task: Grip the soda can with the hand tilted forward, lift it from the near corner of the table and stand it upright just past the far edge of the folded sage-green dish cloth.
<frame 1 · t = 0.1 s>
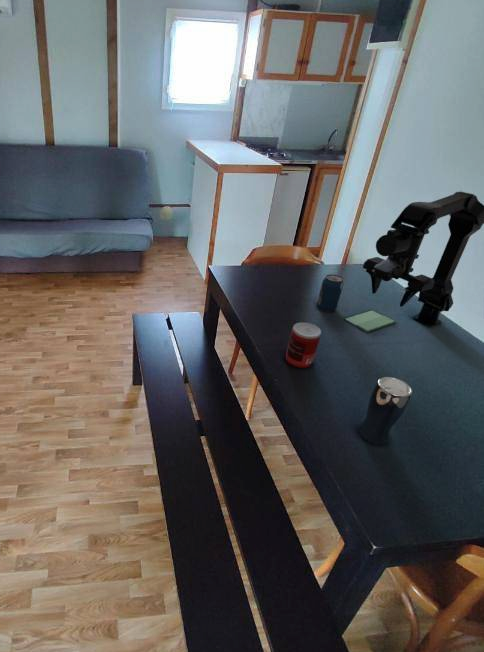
hand: (387, 299, 123), 15 cm above the table, tool pointing down, fingers open, 9 cm apart
cloth: (369, 321, 141), on the table
beer glass: (372, 435, 96), on the table
soda can: (325, 308, 149), on the table
canned food: (298, 361, 121), on the table
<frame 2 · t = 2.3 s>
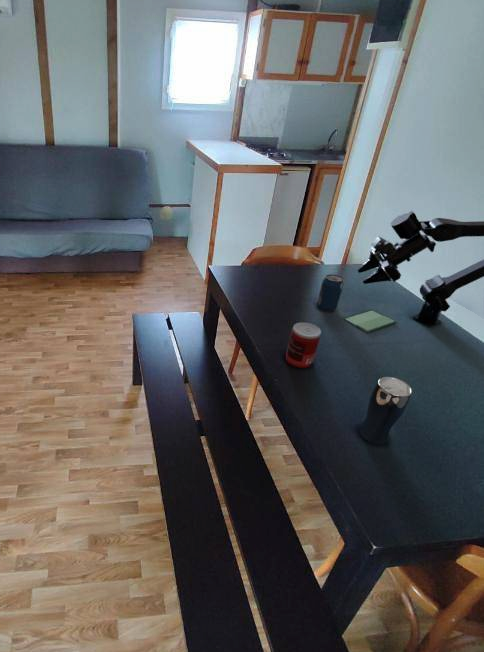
hand: (360, 277, 139), 13 cm above the table, tool tilted 45°, fingers open, 9 cm apart
nothing on the table moved.
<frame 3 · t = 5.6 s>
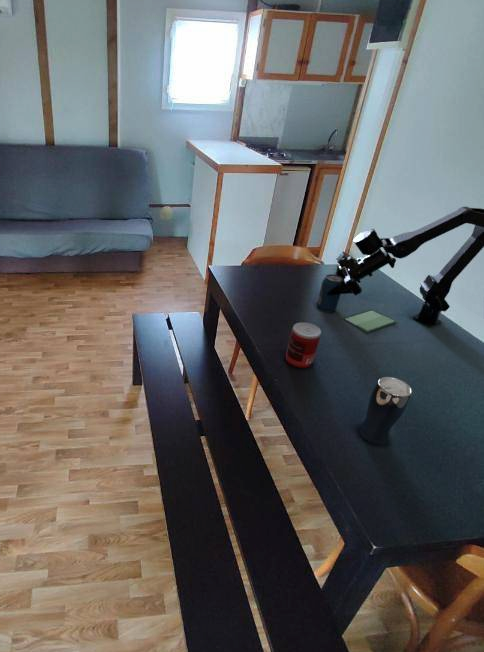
hand: (326, 289, 145), 7 cm above the table, tool tilted 45°, fingers closed on soda can, 7 cm apart
soda can: (325, 308, 149), on the table, touching gripper
everything else where it was.
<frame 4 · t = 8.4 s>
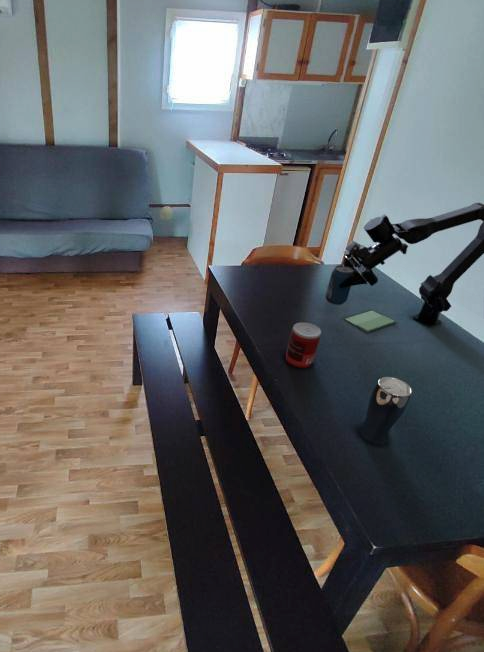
hand: (336, 282, 137), 13 cm above the table, tool tilted 45°, fingers closed on soda can, 7 cm apart
soda can: (334, 301, 141), point 5 cm above the table, touching gripper
everything else where it was.
when the fingers open (7 cm above the table, at t = 11.7 s): soda can stays where it is, on the table.
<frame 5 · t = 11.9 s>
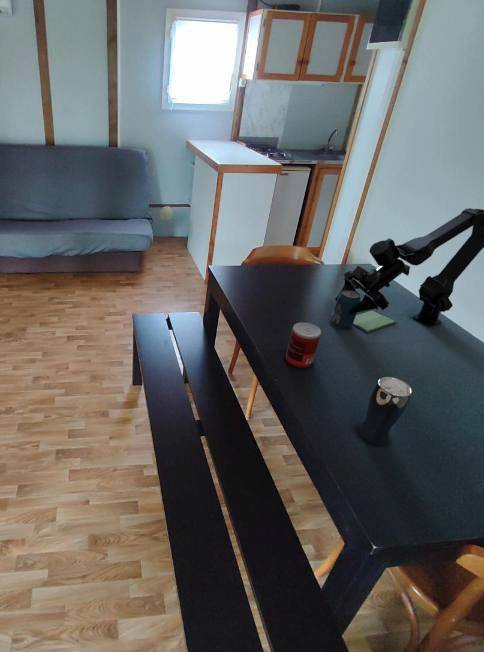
hand: (342, 306, 134), 7 cm above the table, tool tilted 45°, fingers open, 8 cm apart
soda can: (340, 325, 139), on the table
everything else where it was.
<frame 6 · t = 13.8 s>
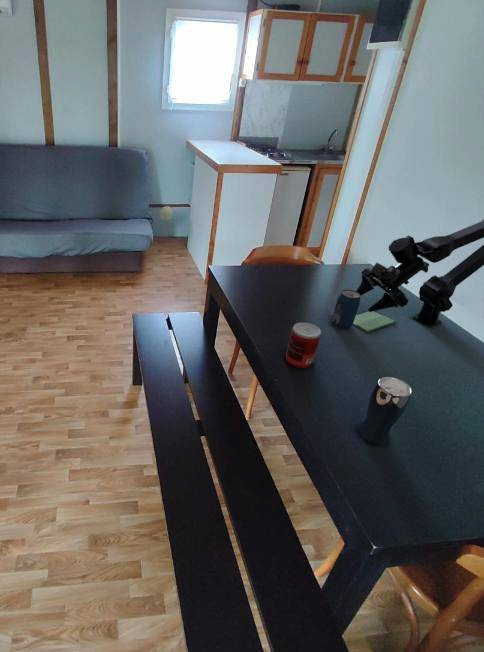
hand: (360, 304, 135), 8 cm above the table, tool tilted 45°, fingers open, 9 cm apart
nothing on the table moved.
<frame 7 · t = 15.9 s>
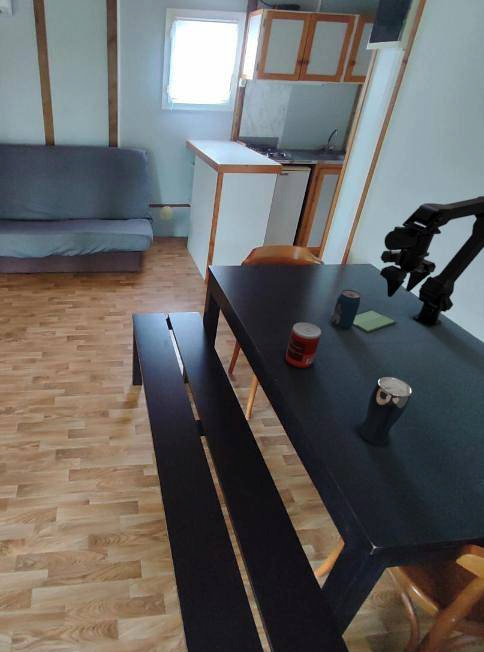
hand: (398, 293, 132), 12 cm above the table, tool pointing down, fingers open, 9 cm apart
nothing on the table moved.
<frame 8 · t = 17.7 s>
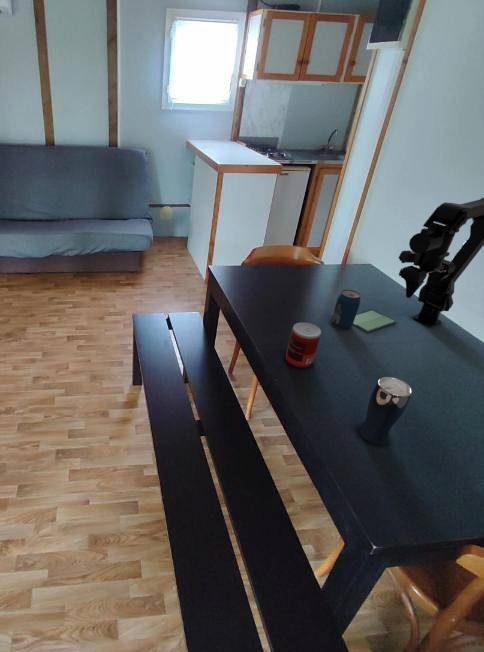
hand: (417, 294, 130), 13 cm above the table, tool pointing down, fingers open, 9 cm apart
nothing on the table moved.
at the end: soda can 0.4 cm from the target spot on the table beside the cloth, on the table; soda can tilted 0°; the gripper is holding nothing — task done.
